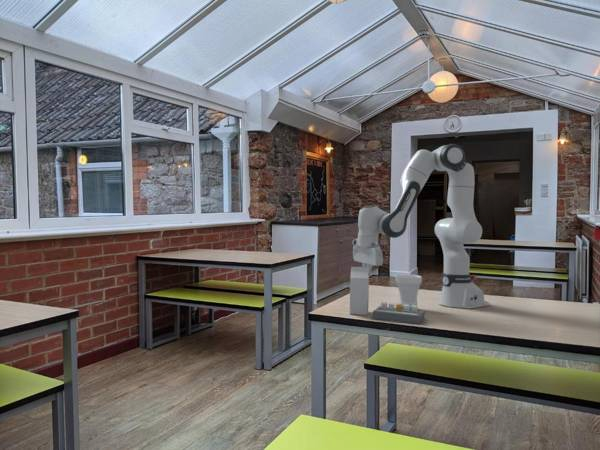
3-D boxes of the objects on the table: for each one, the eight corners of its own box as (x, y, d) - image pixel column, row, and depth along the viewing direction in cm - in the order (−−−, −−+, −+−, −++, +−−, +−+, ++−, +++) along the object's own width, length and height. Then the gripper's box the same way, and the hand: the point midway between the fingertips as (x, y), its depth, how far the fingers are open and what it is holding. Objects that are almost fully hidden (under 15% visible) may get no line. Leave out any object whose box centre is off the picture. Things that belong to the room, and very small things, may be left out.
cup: (422, 312, 204) (423, 278, 203) (395, 310, 206) (395, 277, 205) (420, 306, 215) (421, 274, 214) (394, 305, 217) (395, 273, 216)
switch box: (372, 318, 191) (373, 303, 191) (380, 313, 200) (380, 299, 200) (419, 324, 184) (419, 308, 183) (424, 318, 193) (424, 303, 192)
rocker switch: (396, 310, 192) (396, 304, 191) (397, 309, 193) (396, 303, 192) (401, 310, 191) (401, 305, 190) (402, 309, 192) (401, 304, 191)
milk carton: (367, 315, 197) (368, 268, 196) (349, 314, 198) (350, 267, 198) (368, 311, 204) (369, 266, 203) (351, 310, 205) (352, 265, 205)
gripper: (386, 244, 207) (386, 276, 207) (362, 240, 225) (362, 270, 226) (373, 244, 204) (373, 277, 205) (350, 240, 223) (350, 270, 224)
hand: (367, 273), depth 216 cm, fingers closed
